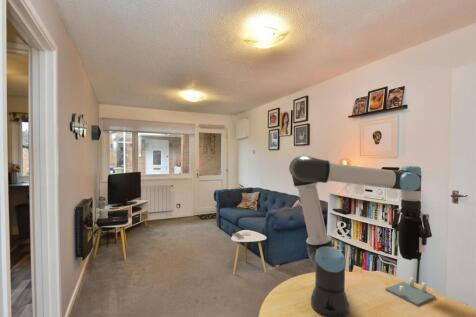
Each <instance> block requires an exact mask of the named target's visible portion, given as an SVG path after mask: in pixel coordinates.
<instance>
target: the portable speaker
mask: <svg viewBox="0 0 476 317" xmlns="http://www.w3.org/2000/svg"><path fill="white" fill-rule="evenodd" d="M399 222H400V223H399ZM399 222H398V223H399V237H398V240H399V245H398V250H399V254H400V256H401V257H402V259H404V260H408V261H412V260H417V261H421V260H422V258H421V257H422V254H423V252H419V237H421V235H420V233H419V225H422V226H423V221H422V218H421V216H420V217H412V218H411V217H405V216H404V215H403V214H402V213H400V217H399ZM418 224H419V225H418ZM423 227H424V226H423Z"/></svg>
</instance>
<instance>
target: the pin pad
mask: <svg viewBox="0 0 476 317" xmlns="http://www.w3.org/2000/svg"><path fill="white" fill-rule="evenodd" d="M385 291H386V292H388V293H390V294H392V295H394V296H396V297H398V298H400V299H402V300H404V301H406V302H408V303H410V304H412V305H413V306H416V307H419V306H421V305H424V304H426V303H428V302H431V301H433V300H435V299H437V298H436V297H437V296H436V295H434V294H431V293H429V292H428V291H427V283H426V282H424V281H422V282H421V289H420V288H418V287H416V286H415V278H414V277H412V276H410V277H409V283H407V282H405V281H402V282H400V283H396V284H394V285H391V286H388V287H385Z"/></svg>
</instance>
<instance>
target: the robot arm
mask: <svg viewBox="0 0 476 317" xmlns="http://www.w3.org/2000/svg"><path fill="white" fill-rule="evenodd" d="M288 170H289V173H290V175H291V178H292V182H293V186H294V187H295V188H296V189H298V190H297V192H298V196H299V199H300V205H301V208H302V214H303V218H304V223H305V226H306V227H305V228H306V232H307V236H308V237H307V238H306V240H305V241H306V246H307V249H306V250H307V251H306V253H307V256H308V258H309V260H310V261H311V264H312V266H313V267H314V271H315V273H314V274H315V276H314V277H315V280H314V281H315V283H314V288H313V292H312V294H311V297H310V306H311V307H312V309H313V310H314V311H315V312H317V313H319V314H321V315H322V316H325V317H346V316H348V314H349V312H350V305H349V301H348V298H347V294H346V291H345V284H346V282H345V281H346V280H345V279H346V278H345V277H346V259H345V255H344V253H343V252H342V251H341V250H340V249H338V248H336V247H334V246H333V241H332V238H331V236H329V235H328V233H327V230H326V229H327V228H326V225H325V219H324V216H323V215H324V214H323V210H322V206H321V202H320V197H319V193H318V188H317V185H318V184H319V183H323V184H327V183H329V182H336V183H343V184H345V183H346V184H352V185H360V186H369V187H376V188H385V189H392V190H400V191H401V193H400V194H401V195H400V197H401V200H400V202H401V203H400V207H401V208H395V209H394V211H393V212H394V216H393V220H392V223H391V228H392V229H393V230H395V238H396V245H397V246H399V240H398V237H399V223H400V218H401V214H403V215H404V216H405V217H411V218H412V217H421V219H422V225H423V226H422V225H419V224H418V225H419V233H420V235H421V237H419V252H422V253H424V252H425V250H426V249H425V248H426V247H425V246H427V244H428V242H427V240H428V239H429V238H432V237H433V235H432V230H431V226H430V222H429V221H430V220H429V217H430V215H429V214H428V213H427V214H426V213H424V212H423V213H422V211H421V209H422V201H421V199H422V176H423V174H422V168H421V167H420V166H418V165H416V166H415V165H403V166H401V169H400V170H397V169H395V170H394V169H383V168H375V167H366V166H357V165H348V164H340V163H333V162H330V160H327V159H326V160H325V159H320V158H316V157H314V156H309V155H299V156H296V157H294V158H293V159H292V160H291V161H290V164H289V168H288Z"/></svg>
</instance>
